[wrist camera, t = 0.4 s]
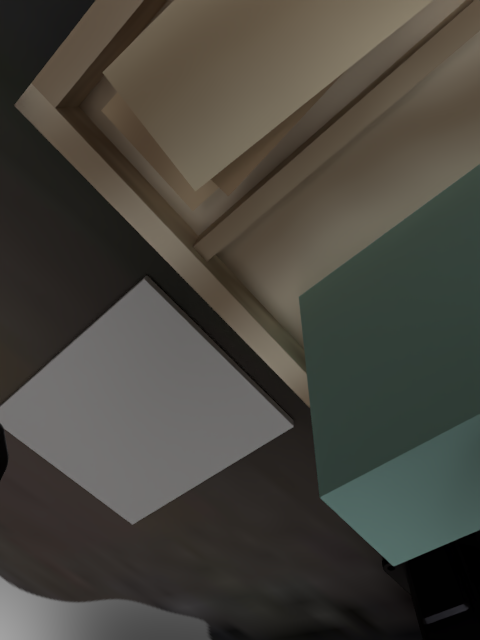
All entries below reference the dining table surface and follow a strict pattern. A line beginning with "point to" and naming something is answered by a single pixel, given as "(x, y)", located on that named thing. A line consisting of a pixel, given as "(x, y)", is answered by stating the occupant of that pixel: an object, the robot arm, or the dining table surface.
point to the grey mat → (142, 406)
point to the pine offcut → (241, 69)
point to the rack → (280, 166)
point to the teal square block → (401, 379)
